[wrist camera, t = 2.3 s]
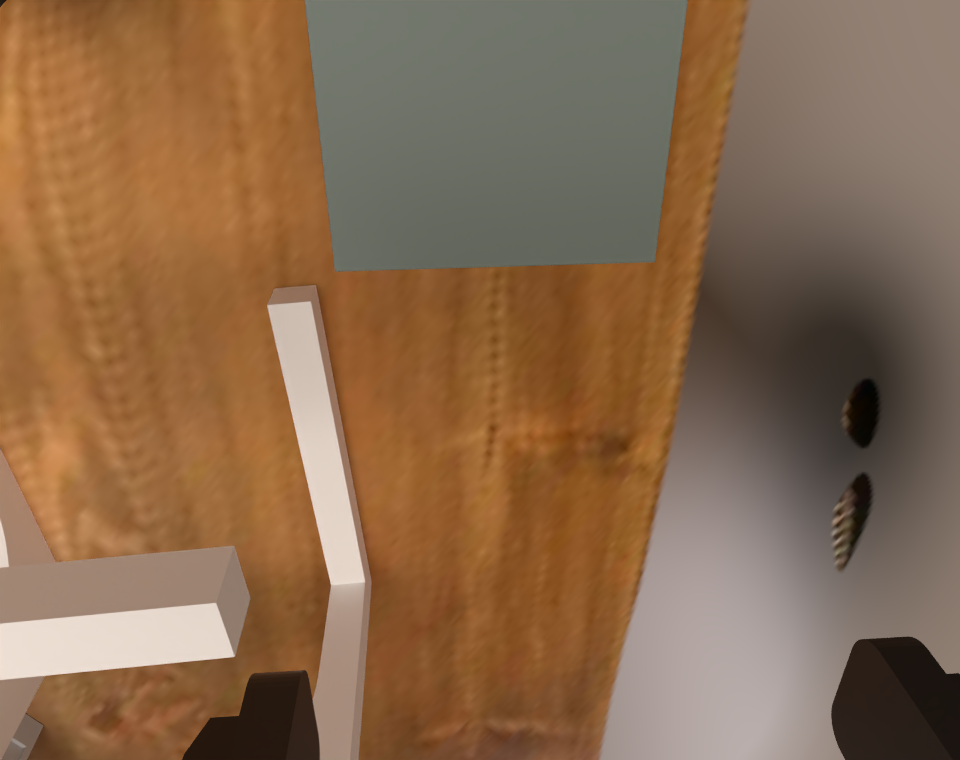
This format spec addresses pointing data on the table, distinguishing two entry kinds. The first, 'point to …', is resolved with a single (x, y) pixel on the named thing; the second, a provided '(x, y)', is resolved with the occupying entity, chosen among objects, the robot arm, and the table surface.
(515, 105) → the box
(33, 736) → the stool
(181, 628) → the bookend
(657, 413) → the table surface
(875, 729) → the robot arm
